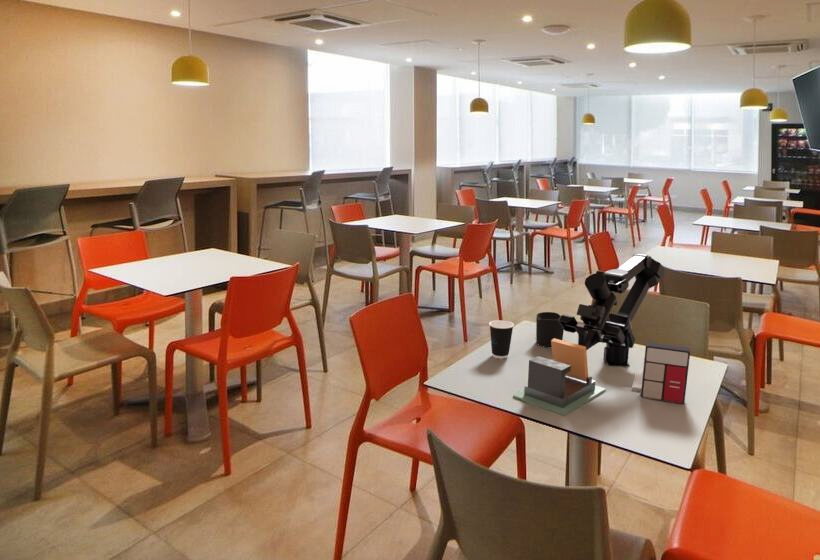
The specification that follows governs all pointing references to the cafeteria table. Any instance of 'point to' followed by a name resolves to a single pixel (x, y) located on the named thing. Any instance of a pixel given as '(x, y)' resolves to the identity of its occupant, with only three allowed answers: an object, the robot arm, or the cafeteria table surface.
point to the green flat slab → (557, 409)
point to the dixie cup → (500, 338)
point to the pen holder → (548, 328)
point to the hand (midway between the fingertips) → (578, 353)
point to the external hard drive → (637, 381)
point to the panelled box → (665, 372)
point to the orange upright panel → (571, 358)
